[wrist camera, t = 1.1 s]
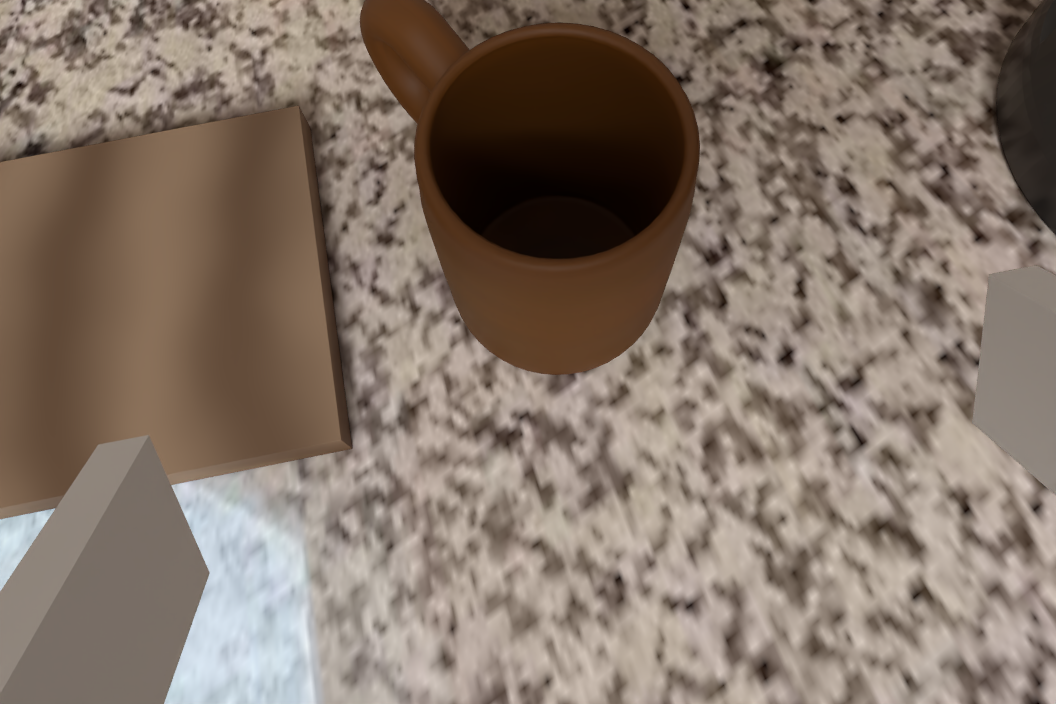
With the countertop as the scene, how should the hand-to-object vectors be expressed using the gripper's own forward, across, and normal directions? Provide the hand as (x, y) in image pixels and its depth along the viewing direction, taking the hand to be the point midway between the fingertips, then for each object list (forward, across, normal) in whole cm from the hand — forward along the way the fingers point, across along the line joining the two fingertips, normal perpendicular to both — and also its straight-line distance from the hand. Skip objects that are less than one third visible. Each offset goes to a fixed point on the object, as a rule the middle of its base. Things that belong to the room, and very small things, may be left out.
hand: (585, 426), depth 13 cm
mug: (+18, 0, -3) cm, 18 cm away
